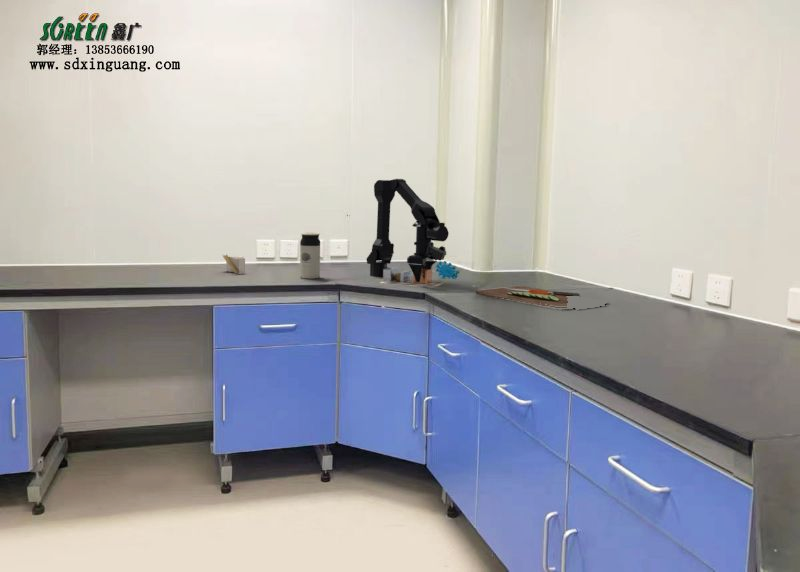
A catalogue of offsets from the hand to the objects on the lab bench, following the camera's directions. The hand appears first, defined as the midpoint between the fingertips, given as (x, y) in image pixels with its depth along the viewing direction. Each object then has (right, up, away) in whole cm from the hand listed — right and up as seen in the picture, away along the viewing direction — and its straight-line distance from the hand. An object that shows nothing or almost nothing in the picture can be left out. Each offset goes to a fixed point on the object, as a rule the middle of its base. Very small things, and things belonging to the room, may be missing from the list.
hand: (422, 280), depth 255 cm
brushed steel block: (-12, 0, +5) cm, 13 cm away
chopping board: (+40, -7, -18) cm, 45 cm away
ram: (-2, -1, +1) cm, 3 cm away
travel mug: (-45, +1, +18) cm, 48 cm away
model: (-78, +3, +27) cm, 83 cm away
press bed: (-4, -2, +2) cm, 5 cm away
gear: (+11, 0, +22) cm, 25 cm away
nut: (-9, -1, +4) cm, 9 cm away
